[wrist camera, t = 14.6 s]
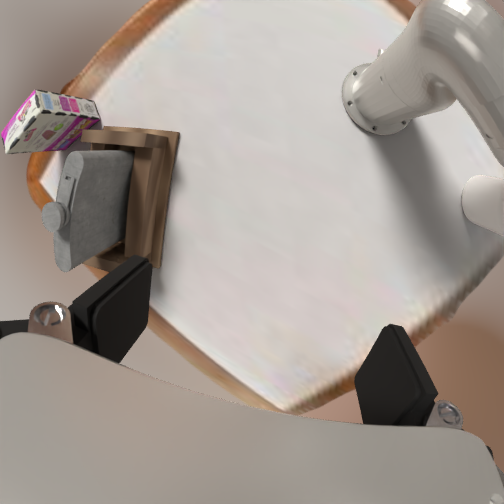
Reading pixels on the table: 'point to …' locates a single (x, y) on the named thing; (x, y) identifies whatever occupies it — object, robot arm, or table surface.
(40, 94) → the candy bar box
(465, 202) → the white tall cylinder
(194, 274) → the table surface
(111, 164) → the hip flask
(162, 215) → the brown rectangular open tray
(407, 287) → the table surface
